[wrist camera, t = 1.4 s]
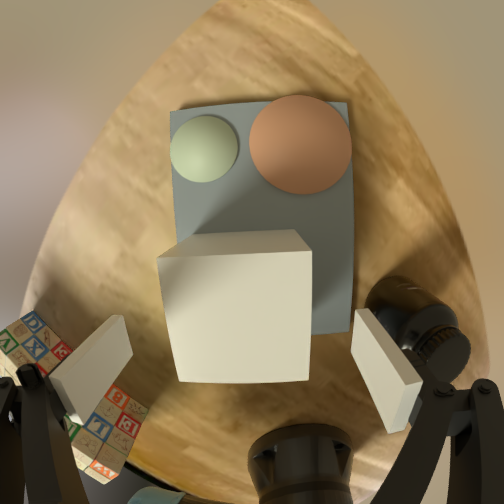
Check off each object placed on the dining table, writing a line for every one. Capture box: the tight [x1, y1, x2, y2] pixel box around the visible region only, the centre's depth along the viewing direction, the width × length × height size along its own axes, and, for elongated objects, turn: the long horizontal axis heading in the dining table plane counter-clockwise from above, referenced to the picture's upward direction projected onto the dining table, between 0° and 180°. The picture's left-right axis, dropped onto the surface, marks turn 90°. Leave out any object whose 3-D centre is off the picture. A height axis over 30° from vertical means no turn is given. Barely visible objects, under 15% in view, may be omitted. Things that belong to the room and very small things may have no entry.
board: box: [170, 95, 354, 335], centre depth 23 cm, size 22×16×5 cm
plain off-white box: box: [157, 229, 312, 383], centre depth 21 cm, size 9×9×9 cm
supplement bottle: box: [364, 276, 471, 383], centre depth 21 cm, size 7×7×12 cm
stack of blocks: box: [0, 311, 148, 484], centre depth 25 cm, size 21×6×12 cm, turn 51°
